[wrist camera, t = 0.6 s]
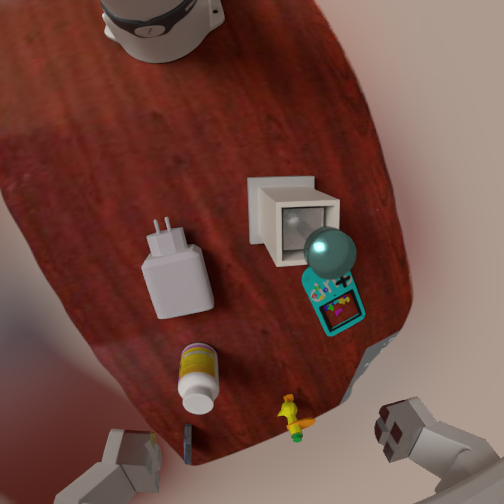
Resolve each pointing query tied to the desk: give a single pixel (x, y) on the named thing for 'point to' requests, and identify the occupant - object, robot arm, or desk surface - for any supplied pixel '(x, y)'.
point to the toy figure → (294, 418)
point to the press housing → (269, 212)
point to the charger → (176, 274)
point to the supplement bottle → (198, 378)
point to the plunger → (317, 241)
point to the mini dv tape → (187, 443)
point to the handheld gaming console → (332, 298)
